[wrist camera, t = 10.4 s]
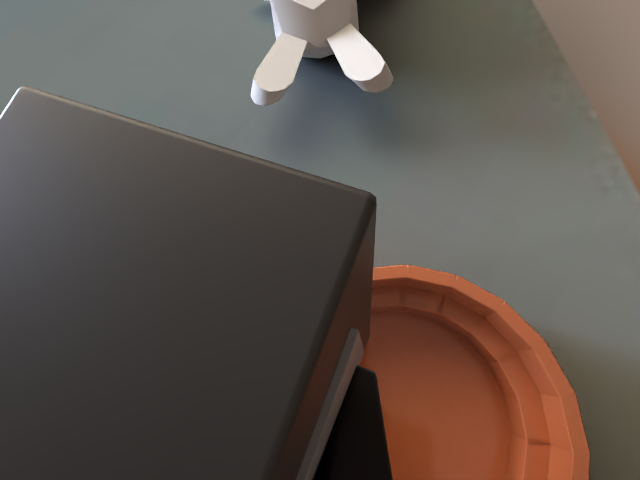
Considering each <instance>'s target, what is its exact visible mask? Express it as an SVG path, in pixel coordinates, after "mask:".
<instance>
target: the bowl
mask: <svg viewBox="0 0 640 480" xmlns="http://www.w3.org/2000/svg"><path fill="white" fill-rule="evenodd" d="M360 366H362V367H364V368H367V369H369V370H371V371H374V372H375V373H376V376H377V381H378V388H379V394H380V400H381V407H382V413H383V420H384V426H385V432H386V439H387V445H388V452H389V458H390V464H391V471H392V477H393V480H589V469H590V452H589V447H588V443H587V439H586V435H585V431H584V426H583V422H582V418H581V414H580V410H579V405H578V401H577V397H576V395H575V392H574V390H573V389H572V387H571V385H570V383H569V381H568V380H567V378H566V376H565V374H564V373H563V371H562V369H561V367H560V366H559V364H558V362H557V360H556V359H555V357H554V355H553V353H552V352H551V350H550V348H549V346H548V345H547V343H546V342H545V340H544V339H543V338H542V337H541V336H540V335H539V334H538V333H537V332H536V331H535V330H534V329H533V328H532V327H531V326H530V325H529V324H528V323H527V322H526V321H525V320H524V319H523V318H522V317H521V316H520V315H519V314H517V313H516V312H515V311H514V310H513V309H512V308H511V307H510V306H509V305H508V304H507V303H506V302H505V301H503V300H502V299H500V298H498V297H497V296H495V295H493V294H491V293H489V292H487V291H486V290H484V289H482V288H480V287H478V286H476V285H474V284H473V283H471V282H469V281H467V280H465V279H463V278H462V277H460V276H456V275H455V274H450V273H445V272H441V271H436V270H431V269H426V268H422V267H417V266H412V265H395V266H384V267H373V280H372V299H371V317H370V336H369V339H368V342H367V345H366V348H365V351H364V354H363V357H362V360H361V363H360Z"/></svg>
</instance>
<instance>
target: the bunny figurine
mask: <svg viewBox="0 0 640 480" xmlns="http://www.w3.org/2000/svg"><path fill="white" fill-rule="evenodd" d="M264 1H268V2H270V3H271V10H272V16H273V22H274V29H275V35H276V42H275V43H274V45H273V46H272V48H271V49H270V51H269V52H268V54H267V55H266V57H265V58H264V60H263V61H262V63H261V64H260V66H259V67H258V69H257V71H256V73H255V76H254V79H253V84H252V90H251V98H252V99H253V101H254V102H255V104H260V105H264V106H266V105H270V104H273V103H275V102H277V101H279V100H280V99H281V98H282V96H283V95H284V93H285V92H286V91H287V89H288V88H289V86H290V85H291V84H292V82H293V80H294V77H295V75H296V72H297V69H298V66H299V63H300V60H301V58H302V57H309V58H323V57H326V56H329V55H332V54H335V56H336V58H337V60H338V62H339V64H340V66H341V67H342V69H343V71H344V73H345V75H346V76H347V77H348V78H350V79H351V80H352V81H354V82H355V83H356V84H357V85H358V86H359V87H360V88H361V89H362V90H364V91H368V92H381V91H383V90H385V89H388V88H389V87H390V85H391V83H392V81H393V76H392V74H391V71H390V69H389V67H388V66H387V64H386V62H385V61H384V59H383V58H382V56H381V55H380V54H379V52H378V51H377V50H376V49H375V48H374V47H373V46H372V45H371V44H370V43H369V42H368V41H367V40H366V39H365V38H364V37H363V36H362V35H361V34H360V33H359V25H358V12H357V0H264Z"/></svg>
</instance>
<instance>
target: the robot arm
mask: <svg viewBox="0 0 640 480" xmlns="http://www.w3.org/2000/svg"><path fill="white" fill-rule="evenodd" d="M316 480H393V477H392V471H391V464H390V458H389V452H388V445H387V439H386V432H385V426H384V420H383V413H382V407H381V400H380V394H379V388H378V381H377V376H376V373H375V372H374V371H371V370H369V369H367V368H364V367H362V366H359V365H357V366H356V368H355V371H354V373H353V376H352V379H351V381H350V384H349V386H348V389H347V391H346V394H345V397H344V399H343V402H342V404H341V407H340V409H339V412H338V415H337V417H336V420H335V422H334V425H333V428H332V431H331V434H330V438H329V441H328V444H327V447H326V450H325V453H324V456H323V460H322V463H321V466H320V469H319V472H318V475H317V478H316Z"/></svg>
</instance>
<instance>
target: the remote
mask: <svg viewBox="0 0 640 480" xmlns="http://www.w3.org/2000/svg"><path fill="white" fill-rule="evenodd" d="M375 224H376V197H375V196H374V195H373V194H371V193H370V192H367V191H364V190H361V189H357V188H354V187H351V186H348V185H344V184H341V183H338V182H335V181H331V180H328V179H325V178H322V177H319V176H315V175H312V174H309V173H306V172H302V171H299V170H296V169H293V168H290V167H286V166H283V165H280V164H277V163H273V162H270V161H267V160H264V159H261V158H257V157H254V156H251V155H248V154H244V153H241V152H238V151H235V150H231V149H228V148H225V147H222V146H219V145H215V144H212V143H209V142H206V141H202V140H199V139H196V138H193V137H190V136H186V135H183V134H180V133H177V132H173V131H170V130H167V129H164V128H160V127H157V126H154V125H151V124H148V123H144V122H141V121H138V120H135V119H131V118H128V117H125V116H122V115H119V114H115V113H112V112H109V111H106V110H102V109H99V108H96V107H93V106H90V105H86V104H83V103H80V102H77V101H73V100H70V99H67V98H64V97H60V96H57V95H54V94H51V93H48V92H44V91H41V90H38V89H35V88H31V87H28V86H22V87H20V88H19V89H18V90H17V91H16V93H15V94H14V96H13V97H12V99H11V100H10V102H9V103H8V105H7V106H6V108H5V109H4V111H3V112H2V114H1V116H0V480H316V478H317V475H318V472H319V469H320V466H321V463H322V460H323V456H324V453H325V450H326V447H327V444H328V441H329V438H330V434H331V431H332V428H333V425H334V422H335V420H336V417H337V415H338V412H339V409H340V407H341V404H342V402H343V399H344V397H345V394H346V391H347V389H348V386H349V384H350V381H351V379H352V376H353V373H354V371H355V368H356V366H357V365H359V366H360V363H361V360H362V357H363V354H364V351H365V348H366V345H367V342H368V339H369V336H370V317H371V299H372V280H373V261H374V243H375Z"/></svg>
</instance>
